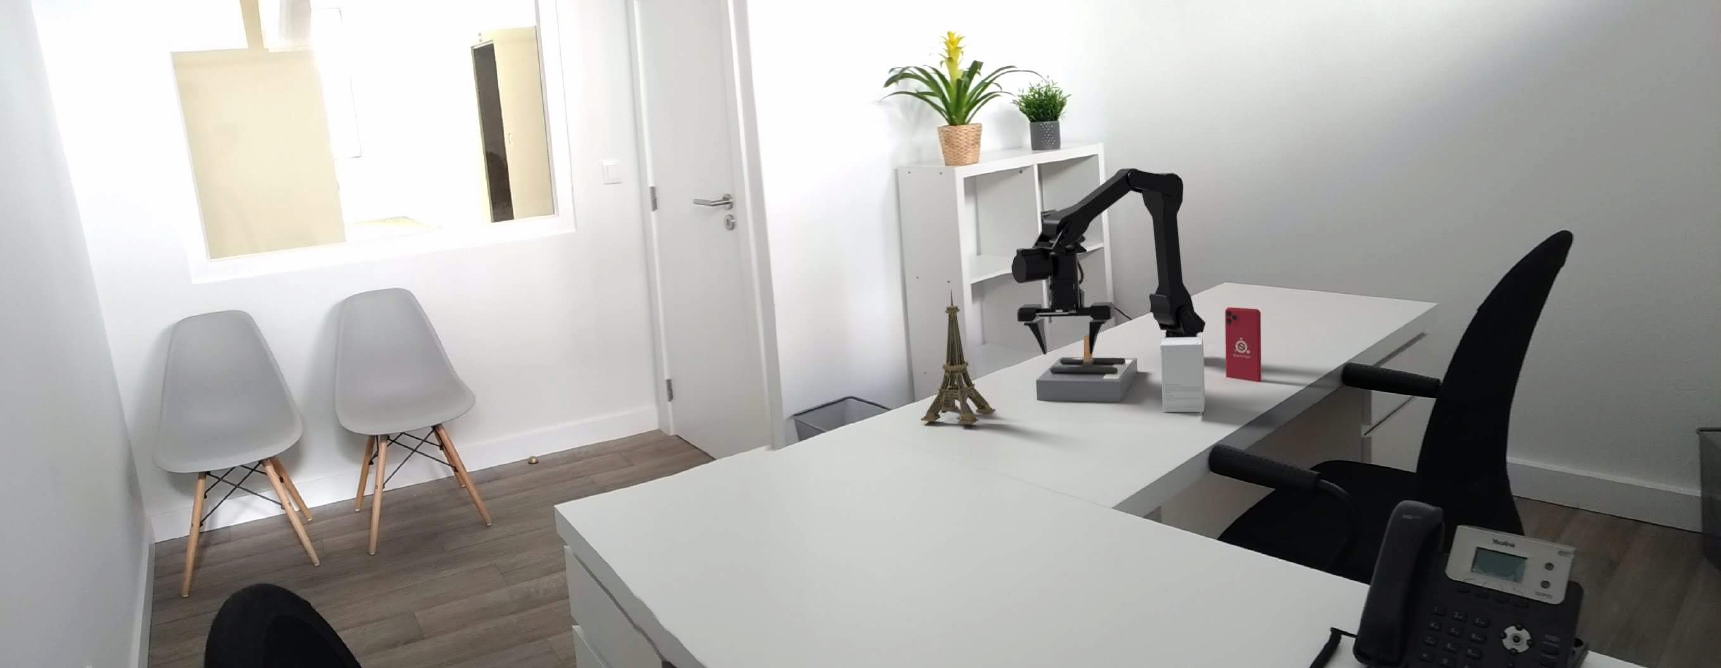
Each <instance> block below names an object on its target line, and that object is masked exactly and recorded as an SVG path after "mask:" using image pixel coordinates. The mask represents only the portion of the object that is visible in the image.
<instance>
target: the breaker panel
mask: <svg viewBox="0 0 1721 668" xmlns="http://www.w3.org/2000/svg"><path fill="white" fill-rule="evenodd" d="M1093 359H1094V364H1093V365H1092V366H1091V367H1082V364H1083V363H1084V356H1083V357H1082V356H1081V357H1076V356H1075V357H1070V356H1068V357H1067V356H1066V357H1065V356H1063V357H1060V358H1059V359H1057V360H1056V361H1055V362H1054V363H1053V364H1052V365H1051V366H1050V367H1048V369H1046V370H1045V371H1044V372H1043V373H1041V375H1040V376H1039V377H1038V378H1037V379H1036V380H1035V381H1036V382H1035V385H1036V387H1035V388H1036V389H1035V391H1036V400H1037V401H1061V402H1062V401H1063V402H1064V401H1065V402H1095V403H1096V402H1097V403H1101V402H1102V403H1105V402H1106V403H1121V402H1122V400H1123V397H1124V396H1125V395H1126V393H1127V392H1128V388H1129V387H1130V385H1131V383H1132V382H1133V380H1134V378H1135V376H1136V375H1137V373H1138V359H1137V357H1136V358H1135V357H1134V358H1132V357H1130V358H1129V357H1127V358H1126V357H1093ZM1135 374H1136V375H1135ZM1125 392H1126V393H1125Z"/></svg>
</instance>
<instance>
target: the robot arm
mask: <svg viewBox="0 0 1721 668" xmlns="http://www.w3.org/2000/svg"><path fill="white" fill-rule="evenodd" d="M1130 192H1133V193H1137V194H1141V197H1142V199H1143V203H1144V206H1145V207H1146V209H1147V212H1149V214H1150V217H1151V219H1152V227H1153V228H1152V229H1153V238H1154V248H1155V259H1156V261H1155V262H1156V269H1157V282H1158V285H1157V288H1156V290H1155V293H1149V303H1150V310H1149V313H1151V314H1152V317H1153V319H1154V320H1155V321H1156V322H1157V324H1158V327H1159V329H1160V331H1165V332H1164V333H1165V336H1164V337H1163V338H1179V337H1199V334H1200V333H1204V330H1205V326H1206V321H1205V320H1204V319H1203V318H1201V316H1199V314H1198V313H1197V312H1196V311H1195V308H1194V303H1193V299H1192V295H1191V294H1190V293H1189V291H1188V289H1187V287H1186V286H1185V284H1184V281H1183V270H1182V261H1181V260H1182V257H1181V256H1182V255H1181V246H1180V238H1179V237H1180V236H1179V225H1178V223H1179V222H1178V212H1179V211H1180V208H1181V206H1182V203H1183V200H1184V182H1183V179H1182V177H1181V176H1179V175H1178V174H1176V173H1174V172H1169V173H1168V172H1160V173H1158V172H1155V173H1154V172H1150V171H1144V170H1141V169H1137V168H1132V167H1131V168H1121V169H1119V170H1117V171H1116V172H1115V173H1114V175H1112V176H1111V177H1110V178H1109V179H1107V180H1106V181H1105V182H1103V183H1102V184H1101V185H1099V186H1098V187H1097V188H1095V189H1094V190H1093V191H1092V192H1090V193H1088V195H1086V196H1085V197H1084V198H1082V199H1081V200H1079V201H1078V202H1076V204H1073V205H1071V206H1068V207H1066V208H1065V207H1064V208H1062V209H1060V210H1058V211H1056V212H1054V213H1052V214H1050V215H1048V216H1047V217H1045V219H1044V220H1043V221H1042V227H1041V231H1040V232H1039V234H1038V236H1037V238H1036V239H1035V241H1034V244H1033V245H1032V247H1030V248H1024V247H1023V248H1021V247H1020V248H1016V253H1015V256H1013V257H1014V258H1013V259H1012V264H1011V274H1012V276H1013V278H1014V281H1015V282H1016V283H1017V284H1025V283H1026V284H1027V283H1033V282H1034V283H1035V282H1042V281H1046V280H1048V279H1049V284H1048V288H1049V289H1048V290H1049V294H1048V295H1049V296H1048V297H1049V298H1048V300H1049V301H1050V306H1049V307H1043V305H1042V303H1035V304H1034V303H1033V304H1031V303H1029V304H1028V303H1027V304H1024V305H1022V306H1021V307H1019V308H1018V309H1017V313H1016V315H1017V316H1016V317H1017V322H1021V323H1023V326H1025V327H1028V328H1029V329H1030V331H1031V332H1032V334H1033V335H1034V337H1035V339H1036V341H1037V343H1038V345H1039V347H1040V349H1041V352H1042V353H1043V355H1045V356H1046V355H1047V353H1048V352H1047V351H1048V348H1047V346H1048V345H1047V340H1046V332H1045V318H1053V317H1054V318H1055V317H1060V318H1061V317H1090V318H1091V320H1090V321H1089V323H1088V325H1089V326H1088V327H1089V328H1088V334H1089V345H1090V354H1092V353H1093V352H1094V349H1095V345H1096V343H1097V338H1098V336H1099V332H1100V329H1101V327H1102V326H1103V325H1105V324H1106V323H1107V322H1108V321H1109V320H1112V319H1113V317H1115V316H1116V308H1115V304H1114V303H1113V302H1112V301H1102V302H1101V301H1100V302H1097V301H1096V302H1093V303H1092V304H1091V305H1090V306H1085V291H1084V290H1083V289H1082V288H1081V287H1080V280H1079V265H1078V254H1085V253H1087V252H1088V250H1087V248H1085V247H1084V246H1082V244H1081V243H1080V242H1079V241H1078V240H1079V239H1081V237H1082V236H1083V235H1084V234H1085V233H1086V232H1087V230H1088V229H1089V226H1090V224H1091V222H1093V220H1095V219H1096V218H1097V217H1099V216H1100V215H1101V214H1102V213H1104V212H1105V211H1106V210H1107V209H1109V208H1110V207H1111V206H1112V205H1114V204H1115V203H1117V202H1118V201H1119V200H1121V199H1122V198H1123V197H1124V196H1126V195H1127V194H1128V193H1130ZM1093 354H1094V353H1093Z"/></svg>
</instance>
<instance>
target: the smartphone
mask: <svg viewBox="0 0 1721 668" xmlns="http://www.w3.org/2000/svg"><path fill="white" fill-rule="evenodd" d="M1261 314H1262V313H1261V310H1259V309H1258V308H1248V307H1246V308H1245V307H1235V306H1234V307H1232V306H1229V307H1226V309H1225V310H1224V321H1225V322H1224V323H1225V324H1224V325H1225V326H1224V328H1225V329H1224V331H1225V332H1224V333H1225V335H1224V338H1225V340H1224V341H1225V378H1228V379H1234V380H1241V381H1248V382H1254V383H1261V382H1262V317H1261V316H1262V315H1261Z"/></svg>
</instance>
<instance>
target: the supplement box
mask: <svg viewBox="0 0 1721 668" xmlns="http://www.w3.org/2000/svg"><path fill="white" fill-rule="evenodd" d="M1159 347H1160V363H1161V365H1160V367H1161V394H1162V395H1161V396H1162V397H1161V398H1162V412H1163V413H1204V412H1205V408H1206V407H1205V406H1206V393H1205V392H1206V390H1205V388H1206V387H1205V355H1204V339H1203V337H1202V336H1198V337H1179V338H1164V337H1163V338H1162V340H1161V343H1160V345H1159Z"/></svg>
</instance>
